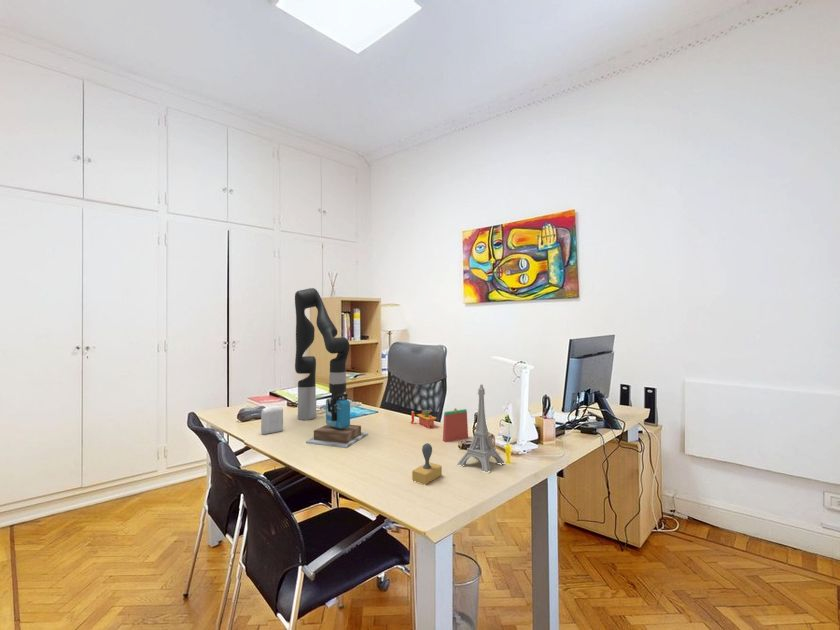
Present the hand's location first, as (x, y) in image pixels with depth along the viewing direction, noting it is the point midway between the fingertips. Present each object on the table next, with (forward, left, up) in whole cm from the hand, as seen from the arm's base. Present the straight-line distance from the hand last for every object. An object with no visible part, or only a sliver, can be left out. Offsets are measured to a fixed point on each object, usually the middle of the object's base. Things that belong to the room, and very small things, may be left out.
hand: (337, 419), depth 187 cm
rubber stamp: (+29, +52, -9) cm, 60 cm away
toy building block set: (-28, +38, -9) cm, 48 cm away
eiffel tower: (+10, +67, -9) cm, 69 cm away
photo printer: (+1, -35, -9) cm, 36 cm away
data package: (0, 0, -3) cm, 3 cm away
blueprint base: (0, 0, -9) cm, 9 cm away
